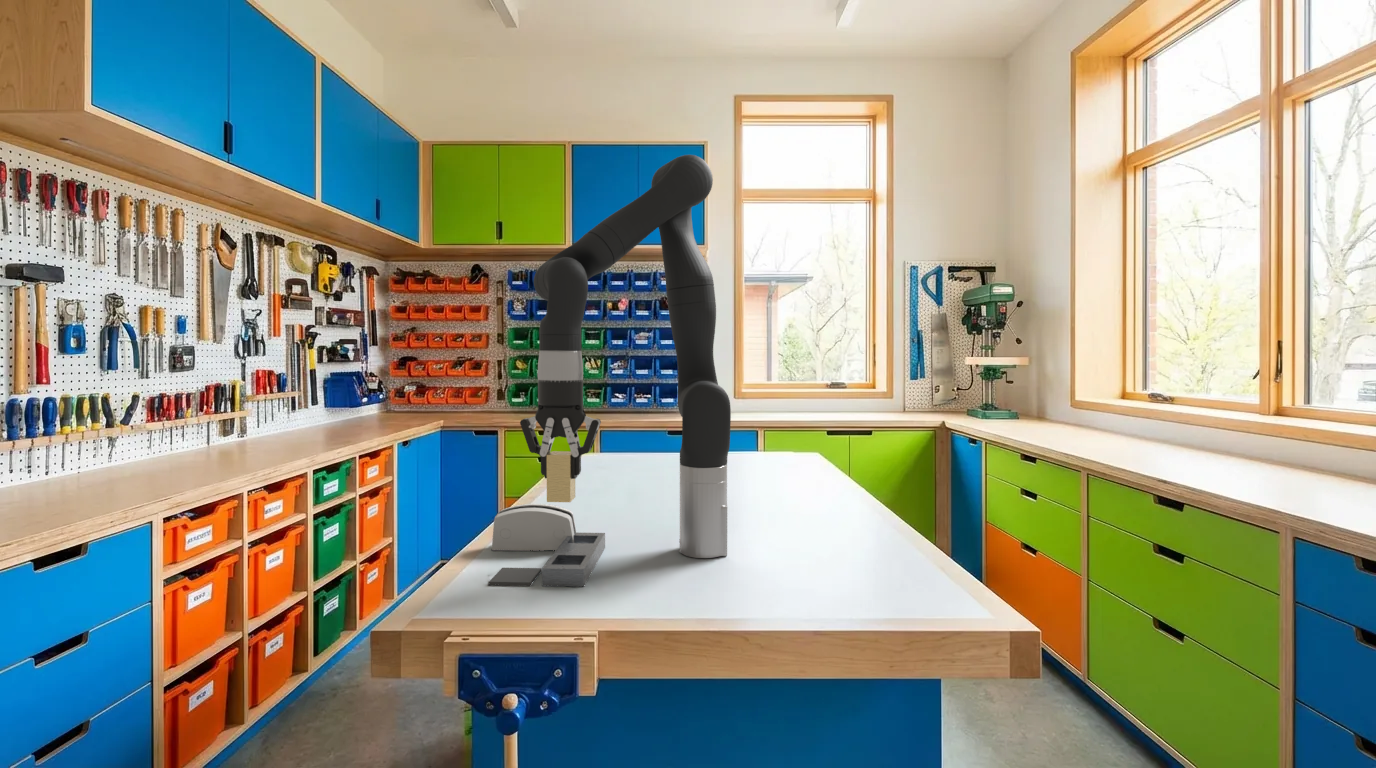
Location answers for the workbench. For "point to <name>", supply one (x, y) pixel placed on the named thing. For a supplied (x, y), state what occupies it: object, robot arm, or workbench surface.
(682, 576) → the workbench surface
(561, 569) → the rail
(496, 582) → the pad
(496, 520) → the white arched device
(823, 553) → the workbench surface
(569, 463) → the tan wooden beam
